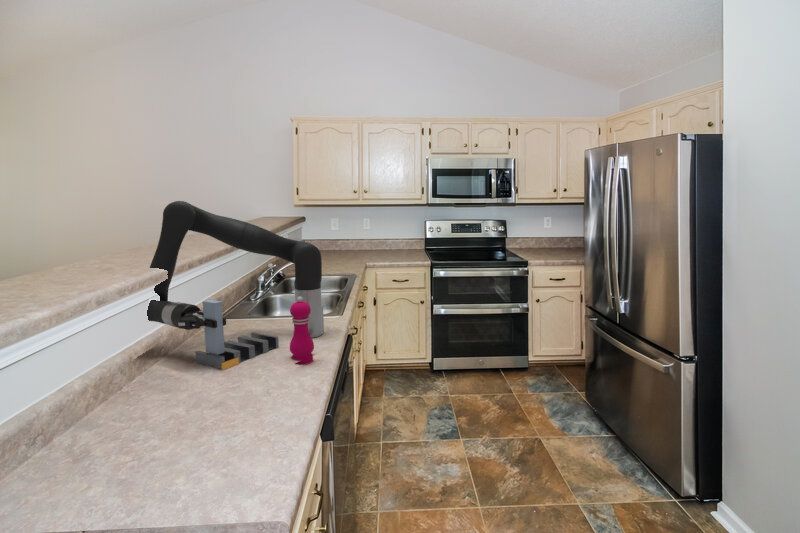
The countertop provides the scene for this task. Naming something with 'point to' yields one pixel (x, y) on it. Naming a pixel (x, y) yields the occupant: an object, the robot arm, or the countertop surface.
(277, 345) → the rack
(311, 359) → the pepper mill
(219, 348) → the panel
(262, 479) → the countertop surface
